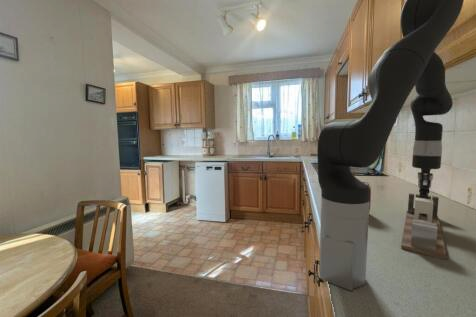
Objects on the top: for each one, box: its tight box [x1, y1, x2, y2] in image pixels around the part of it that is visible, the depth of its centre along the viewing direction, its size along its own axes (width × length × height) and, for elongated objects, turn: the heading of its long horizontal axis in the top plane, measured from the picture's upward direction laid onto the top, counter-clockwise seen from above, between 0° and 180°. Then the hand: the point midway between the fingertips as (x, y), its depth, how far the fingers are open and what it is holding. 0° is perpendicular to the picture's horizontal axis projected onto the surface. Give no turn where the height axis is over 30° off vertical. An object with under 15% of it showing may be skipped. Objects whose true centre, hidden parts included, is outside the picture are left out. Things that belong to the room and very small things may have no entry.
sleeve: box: [414, 197, 433, 223], centre depth 73 cm, size 4×4×7 cm
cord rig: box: [400, 192, 447, 260], centre depth 72 cm, size 35×9×8 cm, turn 142°
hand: (423, 203), depth 79 cm, fingers closed
